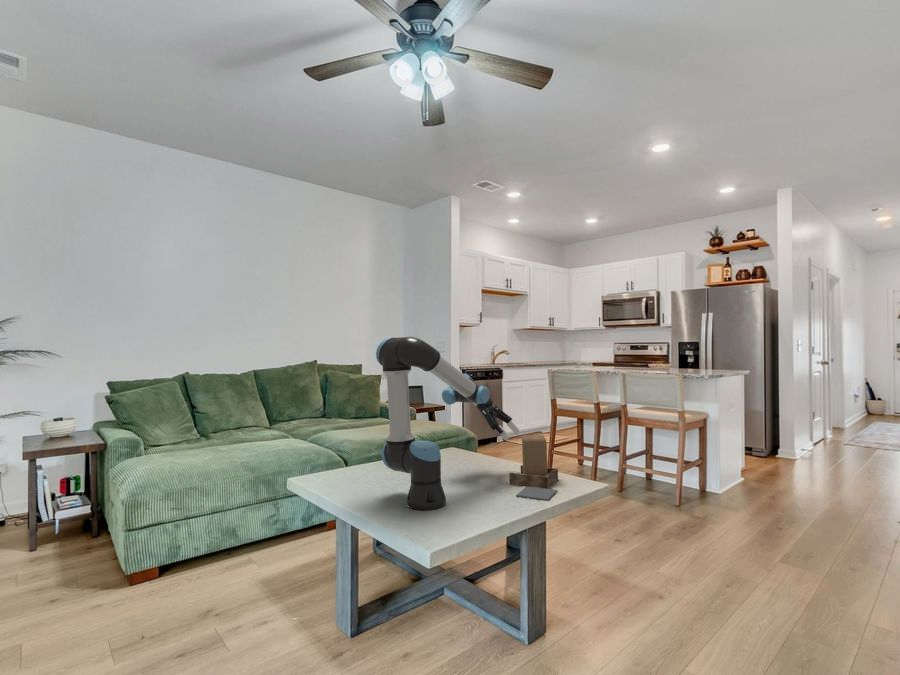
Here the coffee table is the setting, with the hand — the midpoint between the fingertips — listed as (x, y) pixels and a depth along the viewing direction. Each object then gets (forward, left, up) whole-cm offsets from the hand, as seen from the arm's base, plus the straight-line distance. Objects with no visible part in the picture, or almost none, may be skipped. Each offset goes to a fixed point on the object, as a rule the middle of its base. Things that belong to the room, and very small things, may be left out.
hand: (513, 435), depth 213 cm
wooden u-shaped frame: (+9, 0, -20) cm, 22 cm away
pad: (+16, -16, -20) cm, 30 cm away
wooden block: (+9, 0, -20) cm, 22 cm away
